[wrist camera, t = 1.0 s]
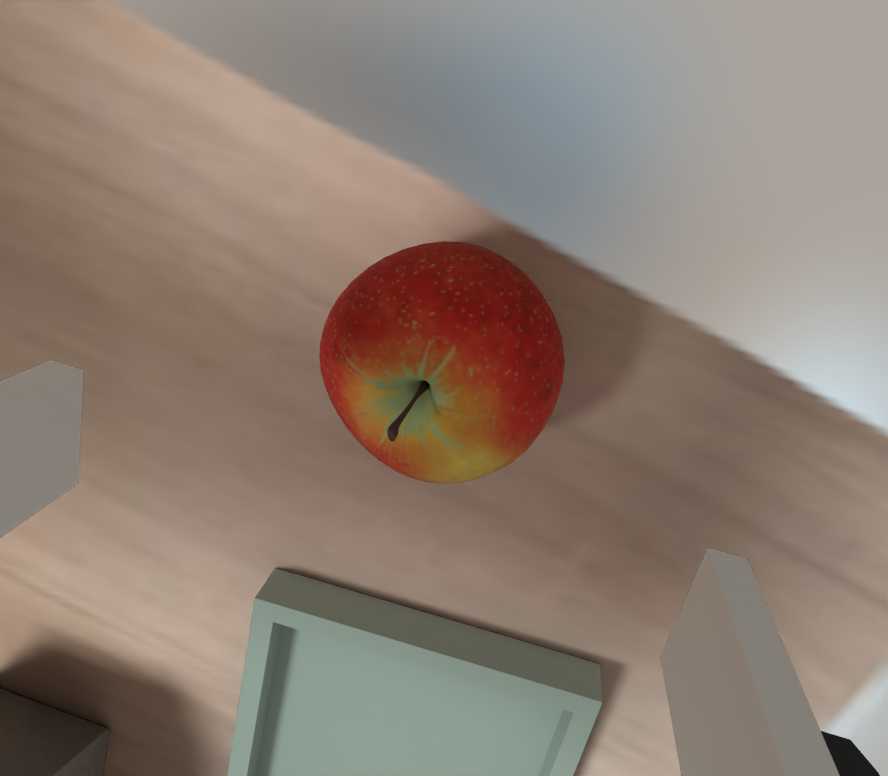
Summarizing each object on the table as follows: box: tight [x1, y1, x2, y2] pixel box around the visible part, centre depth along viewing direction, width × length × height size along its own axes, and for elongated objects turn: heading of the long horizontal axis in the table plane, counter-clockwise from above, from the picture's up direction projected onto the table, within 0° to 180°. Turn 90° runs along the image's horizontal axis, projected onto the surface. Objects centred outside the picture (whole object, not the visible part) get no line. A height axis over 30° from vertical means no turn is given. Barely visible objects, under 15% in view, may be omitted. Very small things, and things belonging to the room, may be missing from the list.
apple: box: [320, 242, 564, 483], centre depth 24 cm, size 8×8×10 cm
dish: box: [227, 568, 603, 776], centre depth 35 cm, size 16×16×2 cm
